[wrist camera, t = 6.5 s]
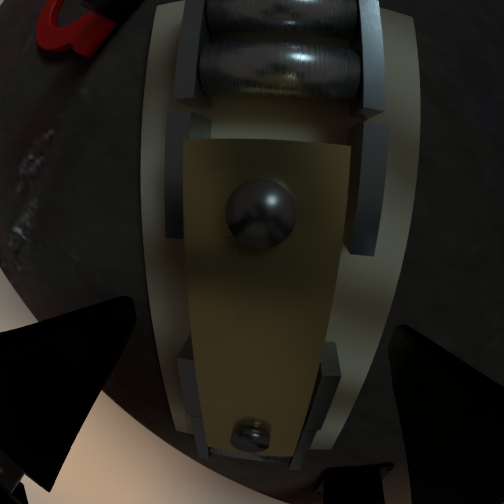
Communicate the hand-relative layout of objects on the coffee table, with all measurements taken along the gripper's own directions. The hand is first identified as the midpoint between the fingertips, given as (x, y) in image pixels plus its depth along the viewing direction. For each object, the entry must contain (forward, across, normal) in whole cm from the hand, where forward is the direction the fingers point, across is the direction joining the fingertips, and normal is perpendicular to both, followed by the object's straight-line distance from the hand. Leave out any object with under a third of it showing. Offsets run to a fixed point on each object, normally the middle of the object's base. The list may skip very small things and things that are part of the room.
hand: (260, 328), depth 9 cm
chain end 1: (+3, 0, -7) cm, 8 cm away
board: (+4, 0, 0) cm, 4 cm away
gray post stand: (+4, +11, -16) cm, 20 cm away
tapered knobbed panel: (+3, 0, 0) cm, 3 cm away
